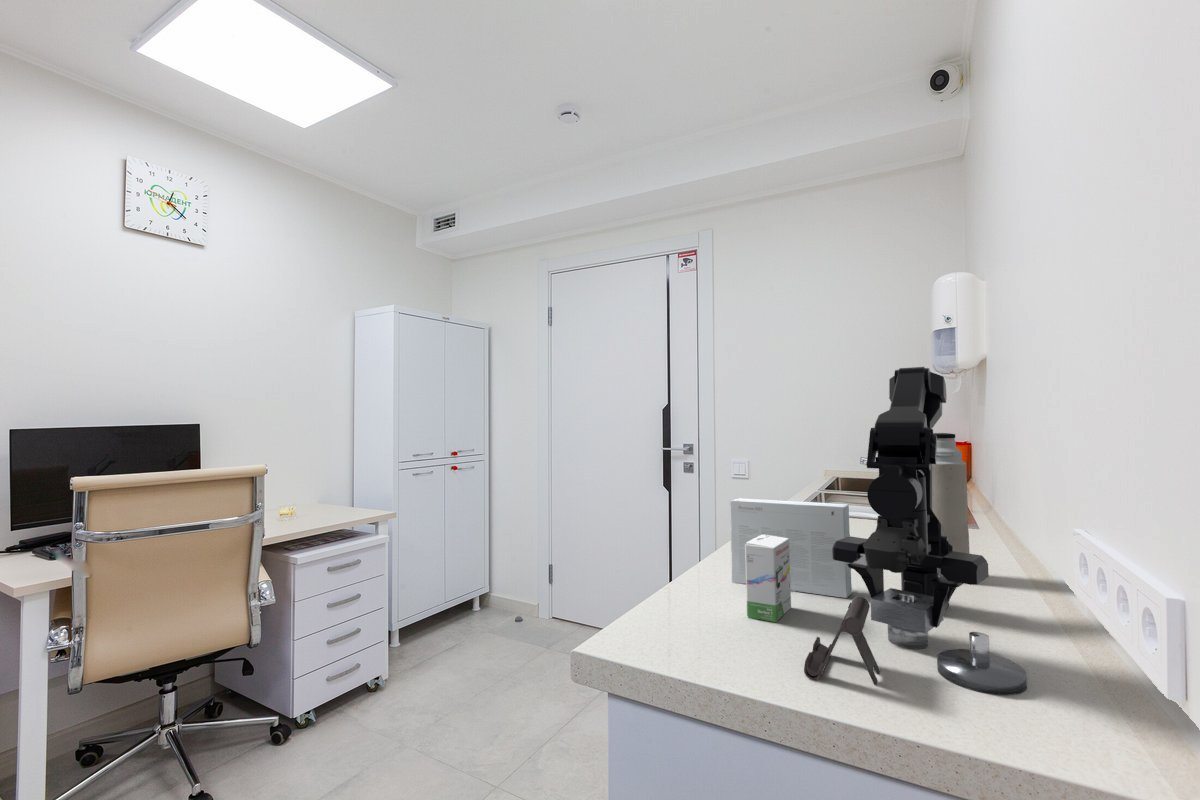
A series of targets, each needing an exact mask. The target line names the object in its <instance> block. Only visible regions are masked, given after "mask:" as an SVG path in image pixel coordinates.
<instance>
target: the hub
mask: <svg viewBox="0 0 1200 800" xmlns="http://www.w3.org/2000/svg"><path fill="white" fill-rule="evenodd" d="M968 633H969V634H968V635H969V636H968V637H969V639H968V640H969V641H968V642H969V649H968V648H952V649H951V648H949V649H945V650H942V651H940V652H938V653H937V654H936V667H937V672H938V673H939V675H940V676H941V677H943V678H944V679H945V680H947V681H949V682H950V683H952V684H955V685H957V686H960V687H961V688H965V689H967V690H972V691H976V692H980V693H985V694H991V695H998V696H1003V695H1004V696H1010V695H1013V696H1014V695H1019V694H1021V693H1024V692H1025V691H1027V688H1028V678H1027V677H1028V674H1027V671H1026V669H1025V668H1024V667H1023V666H1022V665H1020V664H1018V663H1017V662H1015V661H1014V660H1012V659H1009V658H1006V657H1004V656H1001V655H998V654H995V653H991V651H990V636H989V635H988V634H986V633H984V632H978V631H970V632H968Z"/></svg>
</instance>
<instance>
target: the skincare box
mask: <svg viewBox="0 0 1200 800" xmlns="http://www.w3.org/2000/svg"><path fill="white" fill-rule="evenodd" d="M729 506H730V507H729V509H730V511H729V513H730V553H731V554H730V555H731V558H730V559H731V582H732V583H735V584H742V585H746V562H745V544H747V543H746V542H748V541H750V540H752V539H754V538H756V537H758V536H760V535H771V536H777V537H784V538H789V544H790V585H791V592H798V593H799V592H800V593H807V594H814V595H821V596H830V597H836V598H843V599H848V597H849V596H850V595H851V593H852V590H853V588H852V569H851V568H849V567H848V564H849V563H847V562H842V561H836V560H834V559H833V554H832V548H833V545H834V543H835V542H836V541H838V540H840V539H843V538H846V537H849V536H850V508H849V506H850V505H849V504H847V503H833V502H832V503H829V502H819V501H817V502H816V501H815V502H814V501H796V500H780V499H760V498H759V499H757V498H741V497H739V498H735V499H732V500H730V501H729Z"/></svg>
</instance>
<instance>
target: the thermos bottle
mask: <svg viewBox="0 0 1200 800" xmlns="http://www.w3.org/2000/svg"><path fill="white" fill-rule="evenodd" d="M933 433H934V434H935V435H936V436H937V454H936V464H932V511H933V512H934V514H935V516H936V517H937V519H938V520H939V522H940V523H941V525H942V527H943V536H947V537H948V541H949V543H950V544H951V545H952V546H953V551H955V552H962V553H969V554H971V552H970V534H969V533H970V531H969V523H968V522H969V521H968V518H969V506H968V505H969V503H968V501H969V500H968V480H967V479H968V478H967V477H968V475H967V474H968V473H967V463H966V461H963V460H962V457H963V454H962V450H960V449H958V448H957V443H956V440H955V438H956V433H949V432H933Z"/></svg>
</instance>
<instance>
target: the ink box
mask: <svg viewBox="0 0 1200 800" xmlns="http://www.w3.org/2000/svg"><path fill="white" fill-rule="evenodd" d="M746 543H747V544H745V562H746V584H745V588H746V616H747V617H748V618H749V619H755V620H762V621H765V622H766V621H767V622H772V623H777V622H778V621H779V620H780V619H781V618H782V617H783V616H784V615H785V614H786V613H787V612H788V611H789V610H790V609H791V608H792V594H791V593H792V591H791V585H790V544H789V538H784V537H777V536H771V535H760V536H758V537H756V538H754V539H752V540H750V541H748V542H746Z"/></svg>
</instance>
